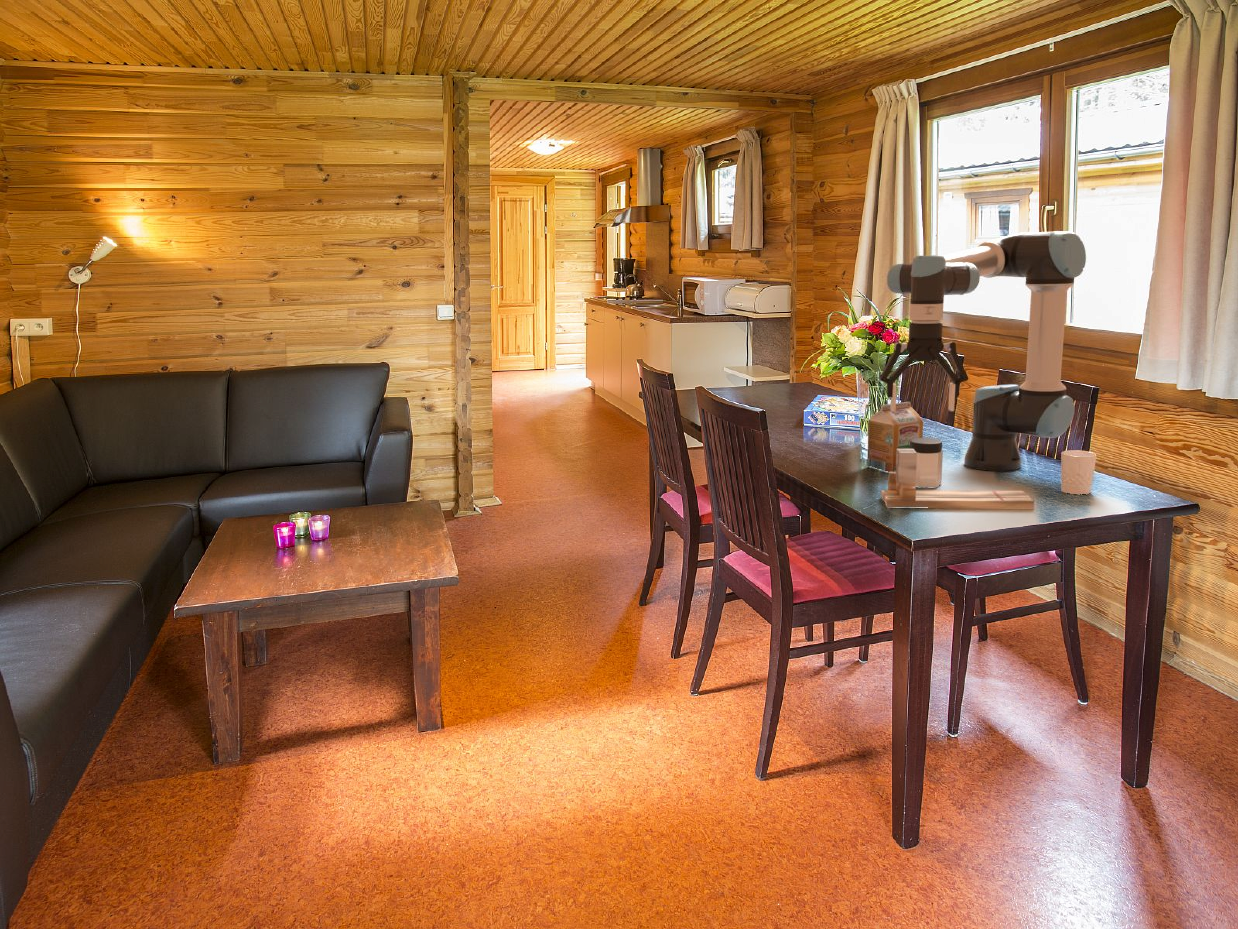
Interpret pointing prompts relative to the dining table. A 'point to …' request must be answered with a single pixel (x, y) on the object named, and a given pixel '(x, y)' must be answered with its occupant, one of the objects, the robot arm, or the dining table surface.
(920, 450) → the jar
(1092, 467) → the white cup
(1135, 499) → the dining table surface
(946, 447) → the dining table surface
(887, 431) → the milk carton
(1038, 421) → the robot arm
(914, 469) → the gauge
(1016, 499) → the board
